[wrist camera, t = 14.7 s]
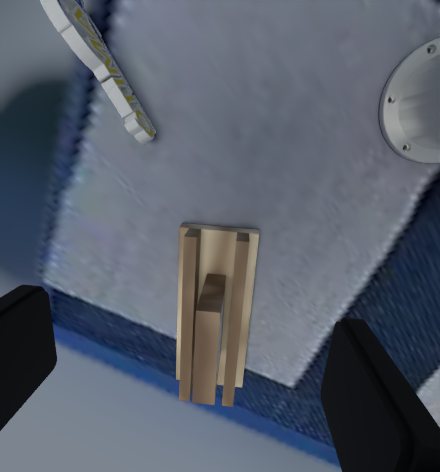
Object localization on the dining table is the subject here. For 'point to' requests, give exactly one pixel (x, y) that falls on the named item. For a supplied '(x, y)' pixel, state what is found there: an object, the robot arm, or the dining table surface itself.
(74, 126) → the dining table surface
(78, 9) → the decorative sign
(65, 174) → the dining table surface
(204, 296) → the walnut picture frame
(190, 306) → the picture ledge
